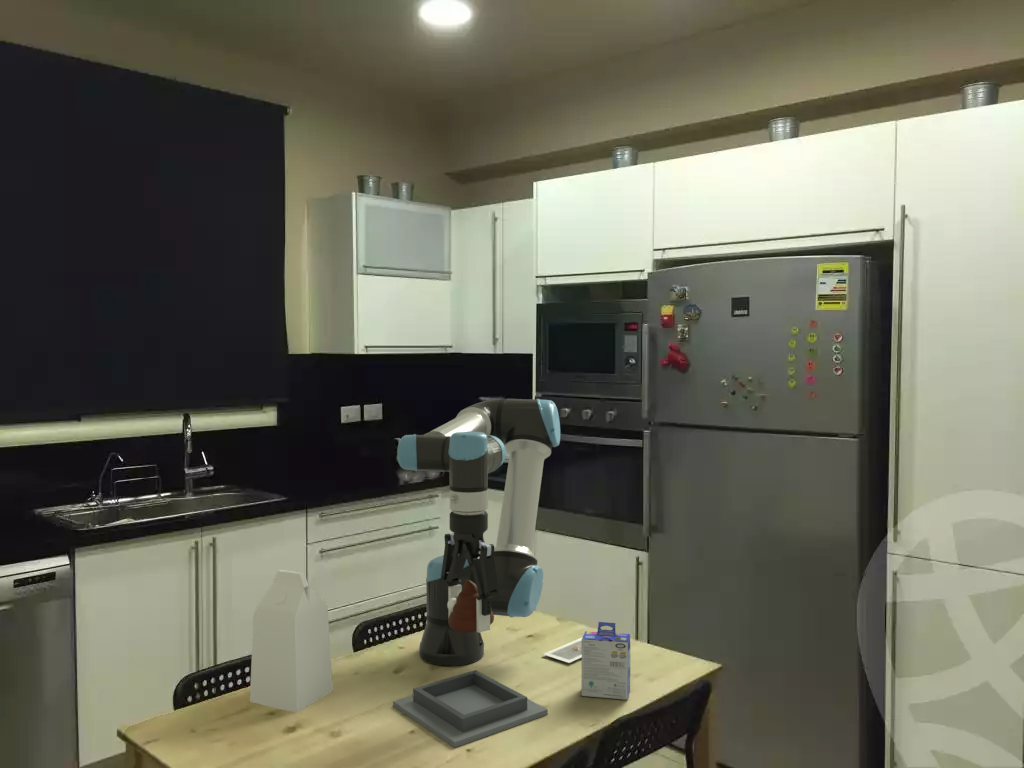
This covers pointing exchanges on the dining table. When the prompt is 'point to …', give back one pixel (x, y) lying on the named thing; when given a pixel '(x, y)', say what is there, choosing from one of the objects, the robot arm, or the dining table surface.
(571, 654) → the touchpad
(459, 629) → the poop emoji
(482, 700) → the pocket plate
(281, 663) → the milk
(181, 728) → the dining table surface
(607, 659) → the ink cartridge box
